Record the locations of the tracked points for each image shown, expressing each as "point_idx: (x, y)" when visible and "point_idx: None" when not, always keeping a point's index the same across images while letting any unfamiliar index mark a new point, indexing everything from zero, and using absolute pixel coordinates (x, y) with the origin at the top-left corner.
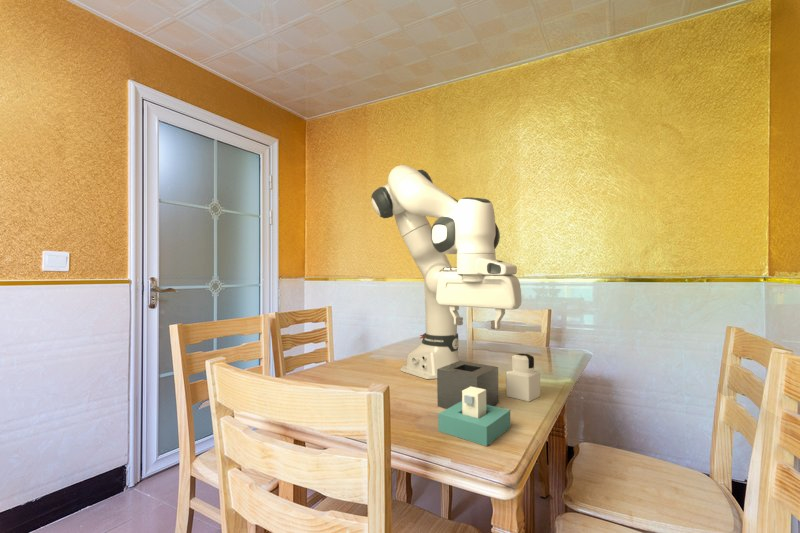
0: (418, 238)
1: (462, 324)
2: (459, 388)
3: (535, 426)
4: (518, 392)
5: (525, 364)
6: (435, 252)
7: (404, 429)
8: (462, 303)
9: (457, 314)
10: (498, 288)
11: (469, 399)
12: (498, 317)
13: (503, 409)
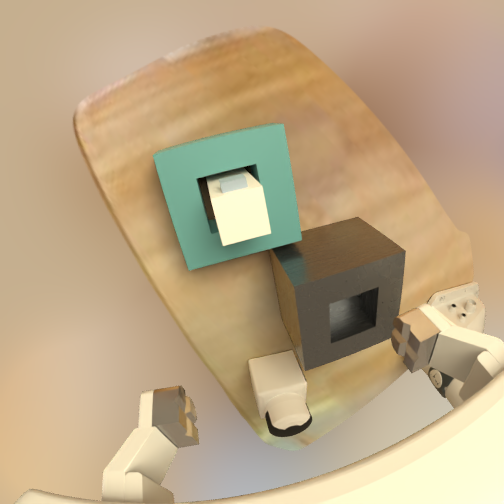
0: None
1: (391, 341)
2: (329, 252)
3: (166, 292)
4: (271, 363)
5: (273, 413)
6: None
7: (324, 80)
8: (455, 432)
9: (447, 362)
10: None
11: (227, 179)
12: (123, 450)
13: (201, 262)
